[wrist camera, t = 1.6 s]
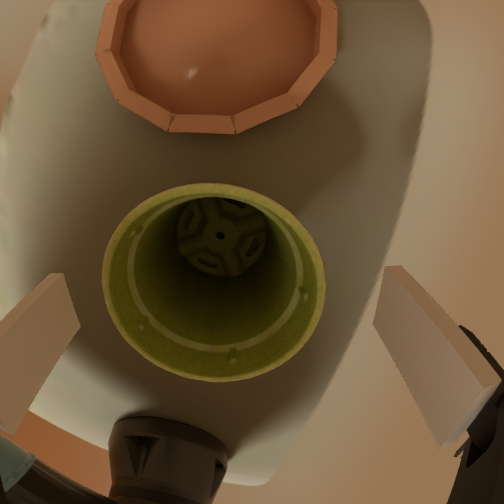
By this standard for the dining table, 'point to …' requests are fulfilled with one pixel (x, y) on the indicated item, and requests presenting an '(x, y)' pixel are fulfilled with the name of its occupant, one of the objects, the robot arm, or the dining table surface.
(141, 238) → the plant pot
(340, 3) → the dining table surface
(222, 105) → the terracotta plant saucer
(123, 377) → the dining table surface
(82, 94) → the dining table surface
